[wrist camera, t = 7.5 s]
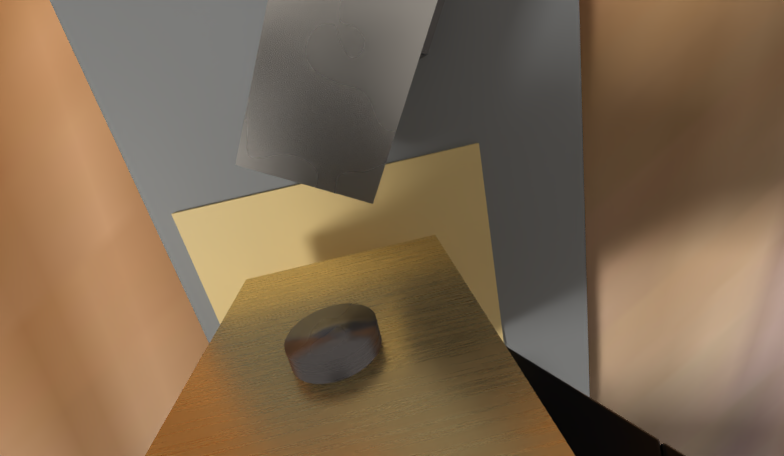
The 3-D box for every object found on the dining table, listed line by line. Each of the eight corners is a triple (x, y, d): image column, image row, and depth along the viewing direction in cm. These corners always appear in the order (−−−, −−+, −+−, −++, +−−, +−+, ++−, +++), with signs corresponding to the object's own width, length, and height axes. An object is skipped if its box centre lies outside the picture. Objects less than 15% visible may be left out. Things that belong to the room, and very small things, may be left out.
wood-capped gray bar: (521, 500, 13) (570, 614, 10) (398, 532, 13) (413, 658, 10) (438, -156, 7) (504, -344, 4) (197, -107, 6) (80, -266, 4)
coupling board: (578, 463, 14) (593, 487, 13) (312, 533, 13) (309, 563, 12) (550, -165, 7) (577, -199, 7) (47, -62, 7) (6, -84, 6)
